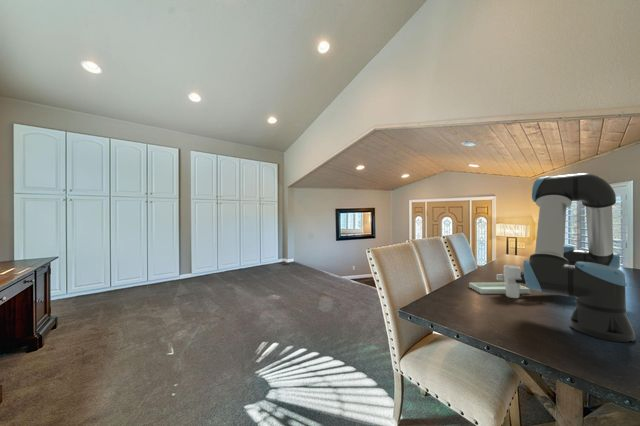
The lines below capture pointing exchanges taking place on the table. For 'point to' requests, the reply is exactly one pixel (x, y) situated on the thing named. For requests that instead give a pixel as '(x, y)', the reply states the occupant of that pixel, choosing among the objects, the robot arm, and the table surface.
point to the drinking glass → (512, 272)
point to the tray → (495, 288)
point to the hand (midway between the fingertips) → (502, 279)
